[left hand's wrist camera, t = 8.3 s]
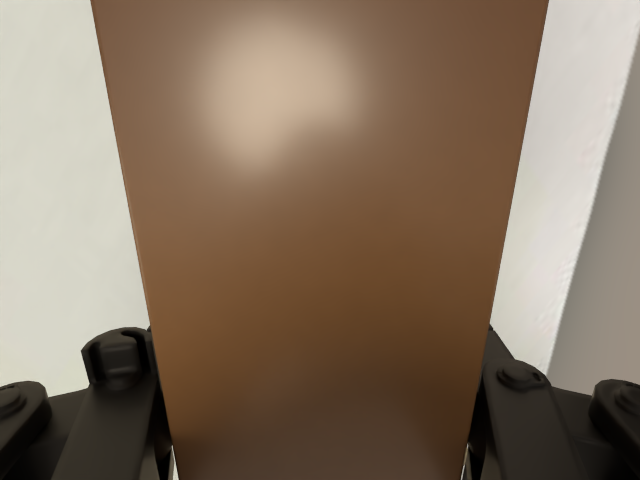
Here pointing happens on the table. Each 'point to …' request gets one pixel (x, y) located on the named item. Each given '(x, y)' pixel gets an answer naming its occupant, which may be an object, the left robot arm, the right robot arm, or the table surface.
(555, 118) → the table surface
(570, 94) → the table surface
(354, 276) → the bar
